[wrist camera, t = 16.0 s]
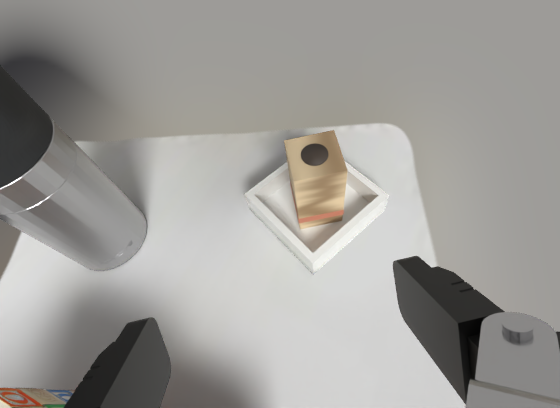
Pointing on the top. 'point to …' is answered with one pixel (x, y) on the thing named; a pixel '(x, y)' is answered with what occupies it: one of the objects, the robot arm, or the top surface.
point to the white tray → (324, 238)
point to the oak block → (317, 178)
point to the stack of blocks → (33, 398)
